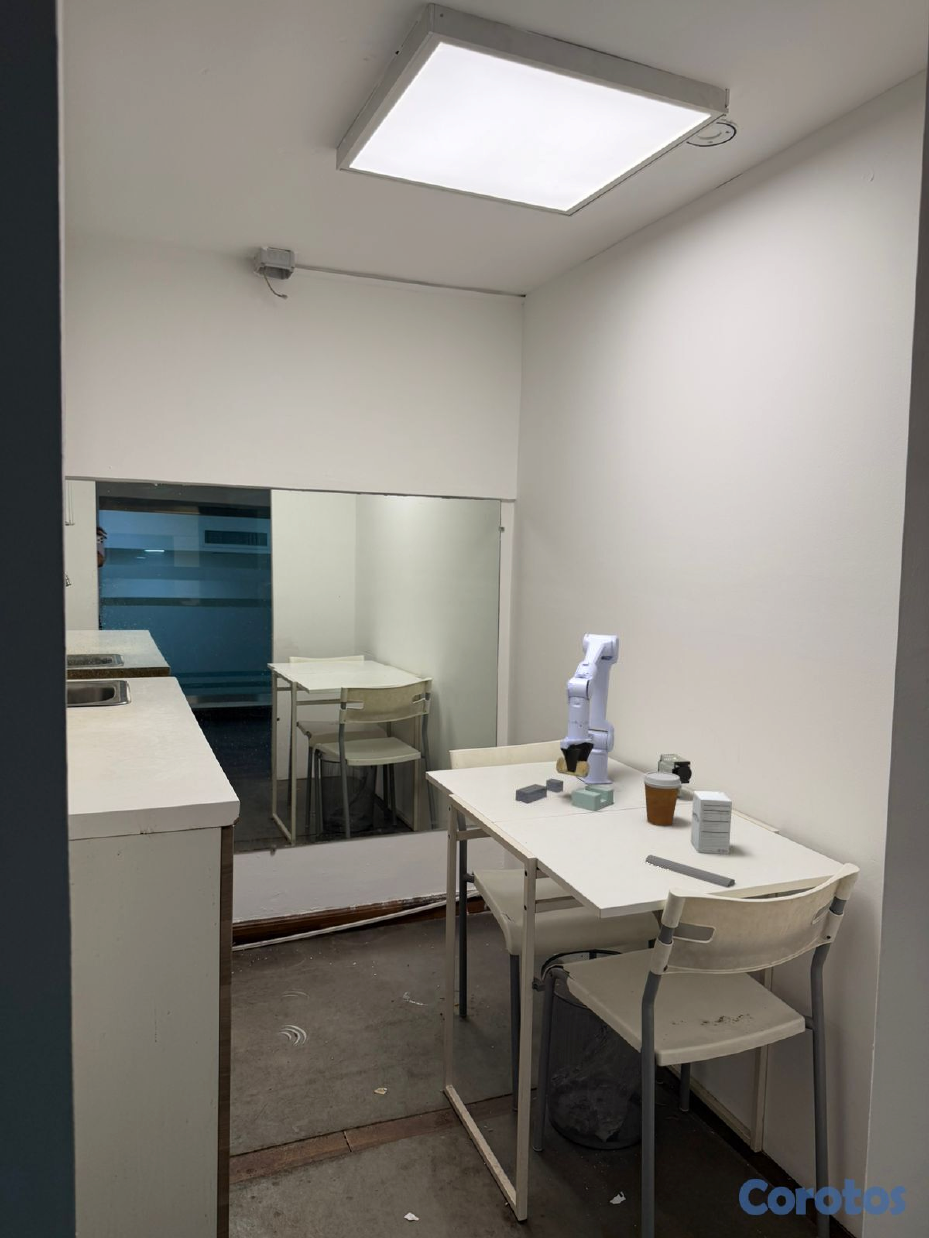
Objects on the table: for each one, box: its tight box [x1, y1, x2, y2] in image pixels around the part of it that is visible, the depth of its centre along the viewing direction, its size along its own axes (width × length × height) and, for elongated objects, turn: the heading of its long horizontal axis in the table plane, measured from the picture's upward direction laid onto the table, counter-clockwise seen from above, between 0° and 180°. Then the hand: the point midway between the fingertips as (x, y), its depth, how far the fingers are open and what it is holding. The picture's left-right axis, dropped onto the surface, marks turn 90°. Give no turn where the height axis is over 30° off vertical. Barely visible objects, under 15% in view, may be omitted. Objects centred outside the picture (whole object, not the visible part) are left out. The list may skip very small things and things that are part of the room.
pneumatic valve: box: [657, 753, 693, 798], centre depth 243 cm, size 6×12×12 cm, turn 14°
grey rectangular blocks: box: [515, 778, 564, 804], centre depth 239 cm, size 4×18×3 cm, turn 141°
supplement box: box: [690, 790, 733, 855], centre depth 199 cm, size 7×7×13 cm
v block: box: [571, 784, 614, 812], centre depth 232 cm, size 7×10×4 cm
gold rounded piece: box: [555, 756, 590, 778], centre depth 235 cm, size 8×4×4 cm, turn 51°
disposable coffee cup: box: [642, 771, 682, 827], centre depth 218 cm, size 10×10×12 cm
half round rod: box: [645, 854, 736, 888], centre depth 184 cm, size 4×20×2 cm, turn 48°
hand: (576, 770), depth 235 cm, fingers closed on gold rounded piece, 4 cm apart
